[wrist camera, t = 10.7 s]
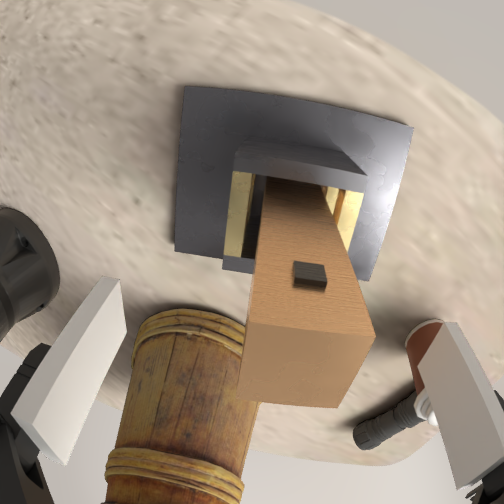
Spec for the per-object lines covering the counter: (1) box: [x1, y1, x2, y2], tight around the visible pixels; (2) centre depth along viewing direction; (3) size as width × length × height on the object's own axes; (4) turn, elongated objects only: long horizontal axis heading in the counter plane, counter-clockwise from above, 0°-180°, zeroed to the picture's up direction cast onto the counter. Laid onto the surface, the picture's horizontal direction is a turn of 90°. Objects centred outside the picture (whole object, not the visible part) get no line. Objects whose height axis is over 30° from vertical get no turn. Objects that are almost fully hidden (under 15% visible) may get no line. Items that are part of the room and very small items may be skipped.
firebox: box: [174, 86, 414, 281], centre depth 25 cm, size 20×16×9 cm
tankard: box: [101, 309, 262, 504], centre depth 31 cm, size 18×24×25 cm
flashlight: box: [353, 391, 426, 450], centre depth 42 cm, size 15×5×5 cm, turn 141°
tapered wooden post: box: [235, 176, 376, 408], centre depth 19 cm, size 4×4×20 cm
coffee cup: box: [405, 319, 444, 426], centre depth 31 cm, size 9×9×12 cm
